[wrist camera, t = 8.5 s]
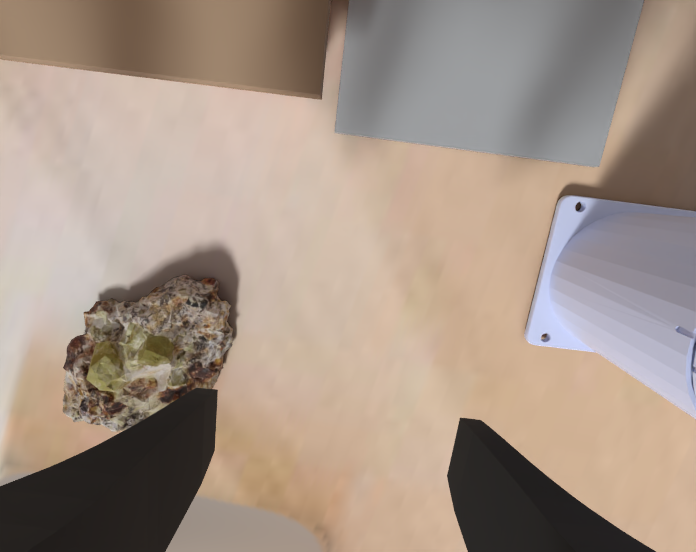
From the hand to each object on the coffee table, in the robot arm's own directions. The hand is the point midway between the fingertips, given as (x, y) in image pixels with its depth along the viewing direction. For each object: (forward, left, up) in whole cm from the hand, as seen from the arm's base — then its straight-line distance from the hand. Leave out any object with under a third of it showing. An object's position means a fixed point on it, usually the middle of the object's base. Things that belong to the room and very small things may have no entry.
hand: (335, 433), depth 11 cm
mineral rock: (+10, +3, -10) cm, 15 cm away
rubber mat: (-5, -16, -10) cm, 19 cm away
